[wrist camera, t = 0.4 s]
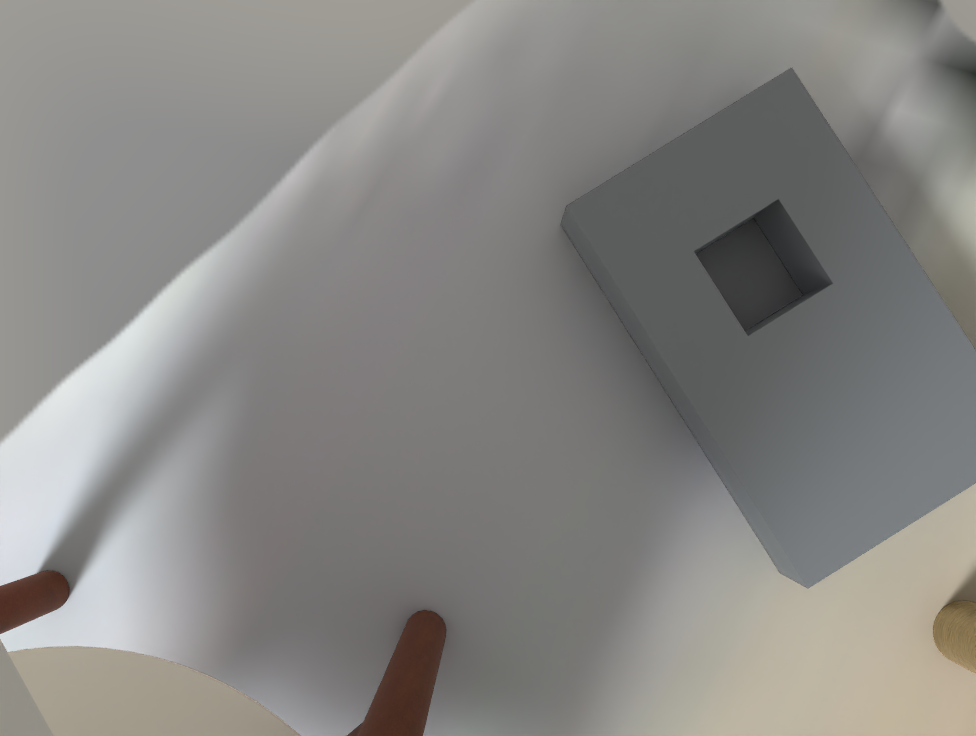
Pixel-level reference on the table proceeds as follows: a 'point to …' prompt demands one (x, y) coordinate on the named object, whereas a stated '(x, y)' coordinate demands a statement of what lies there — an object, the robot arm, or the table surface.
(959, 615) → the brass peg
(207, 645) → the table surface
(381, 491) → the table surface
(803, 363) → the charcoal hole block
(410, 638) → the plant pot with stand
